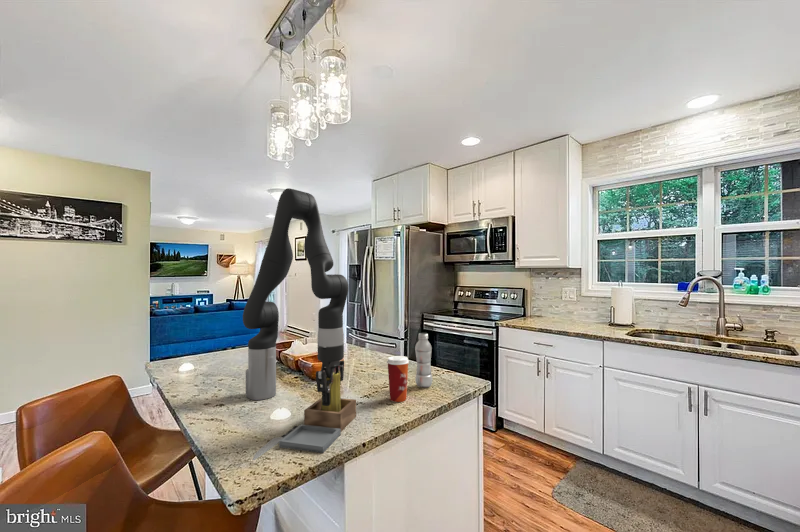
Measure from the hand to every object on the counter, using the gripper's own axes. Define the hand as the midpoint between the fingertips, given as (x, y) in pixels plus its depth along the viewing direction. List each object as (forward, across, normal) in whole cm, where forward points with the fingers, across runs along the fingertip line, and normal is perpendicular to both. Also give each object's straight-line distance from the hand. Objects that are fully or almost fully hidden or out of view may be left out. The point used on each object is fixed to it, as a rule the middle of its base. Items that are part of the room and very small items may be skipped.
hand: (331, 401), depth 100 cm
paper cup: (+6, -23, +14) cm, 27 cm away
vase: (+6, 0, 0) cm, 6 cm away
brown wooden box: (+6, 0, 0) cm, 6 cm away
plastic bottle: (+6, -38, +20) cm, 43 cm away
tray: (+6, +11, 0) cm, 13 cm away
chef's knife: (+7, +15, -9) cm, 19 cm away
